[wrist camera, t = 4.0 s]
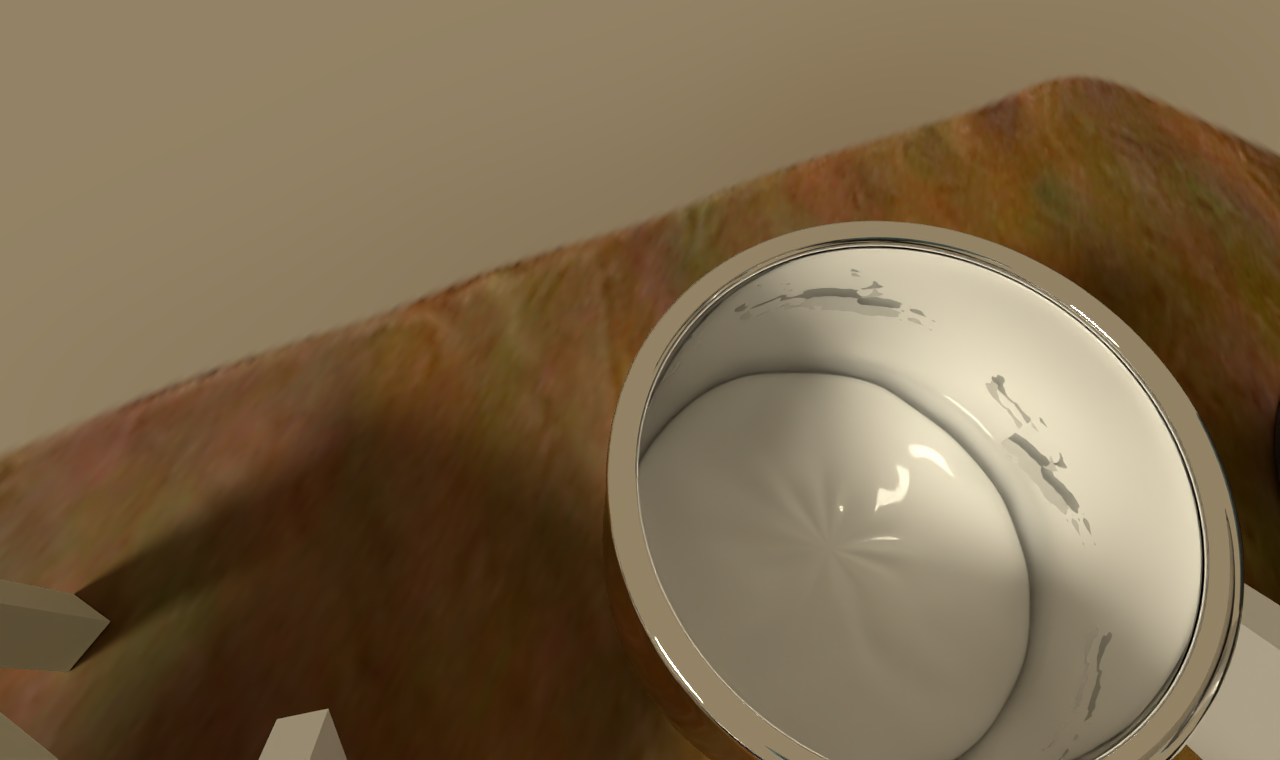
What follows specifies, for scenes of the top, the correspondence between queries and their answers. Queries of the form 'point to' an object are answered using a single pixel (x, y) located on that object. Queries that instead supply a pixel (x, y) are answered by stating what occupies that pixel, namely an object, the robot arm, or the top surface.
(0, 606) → the stool
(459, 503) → the top surface
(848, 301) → the beer glass
